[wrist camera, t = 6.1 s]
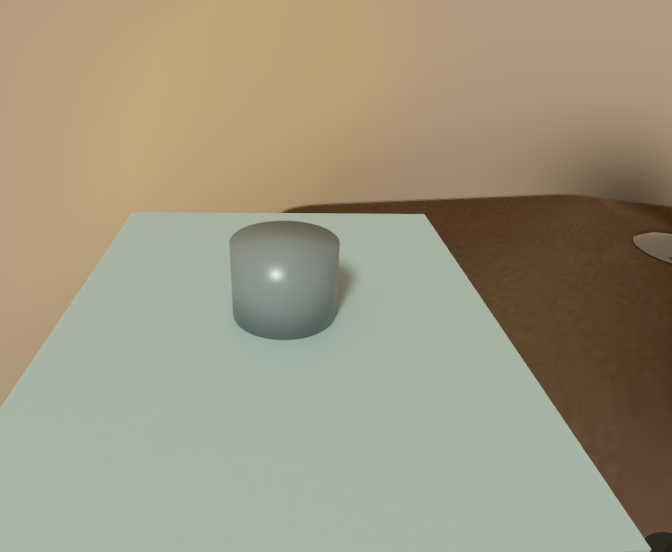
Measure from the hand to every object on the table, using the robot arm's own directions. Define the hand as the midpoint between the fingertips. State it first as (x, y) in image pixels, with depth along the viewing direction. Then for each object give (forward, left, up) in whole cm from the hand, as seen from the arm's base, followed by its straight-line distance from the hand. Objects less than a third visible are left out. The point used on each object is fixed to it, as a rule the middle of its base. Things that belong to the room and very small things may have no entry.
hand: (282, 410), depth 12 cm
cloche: (0, +2, -6) cm, 6 cm away
